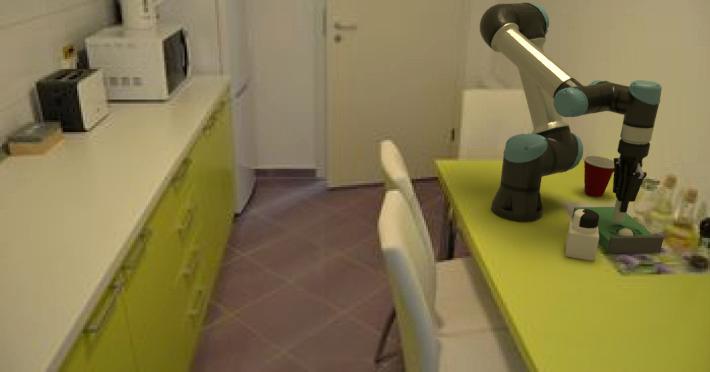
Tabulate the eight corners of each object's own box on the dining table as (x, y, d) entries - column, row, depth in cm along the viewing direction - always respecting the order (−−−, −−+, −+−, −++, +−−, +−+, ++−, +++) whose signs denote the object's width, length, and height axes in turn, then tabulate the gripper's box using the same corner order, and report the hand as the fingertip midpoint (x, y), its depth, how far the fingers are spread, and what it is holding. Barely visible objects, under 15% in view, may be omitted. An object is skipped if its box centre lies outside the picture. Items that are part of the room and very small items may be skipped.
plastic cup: (613, 202, 184) (621, 167, 180) (578, 198, 187) (584, 163, 183) (610, 190, 194) (617, 156, 189) (576, 186, 197) (582, 153, 192)
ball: (624, 246, 156) (618, 234, 155) (619, 243, 160) (612, 231, 159) (638, 240, 155) (631, 227, 155) (632, 237, 159) (626, 224, 159)
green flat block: (609, 253, 152) (612, 238, 150) (572, 216, 174) (574, 202, 172) (660, 252, 153) (663, 237, 152) (617, 215, 175) (619, 202, 173)
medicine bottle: (593, 249, 154) (601, 208, 150) (594, 261, 148) (603, 219, 143) (565, 244, 156) (572, 204, 152) (565, 256, 150) (572, 215, 145)
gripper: (662, 147, 147) (643, 230, 155) (635, 133, 159) (619, 211, 167) (634, 147, 146) (617, 231, 155) (609, 133, 158) (594, 211, 167)
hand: (618, 220), depth 161 cm, fingers closed
